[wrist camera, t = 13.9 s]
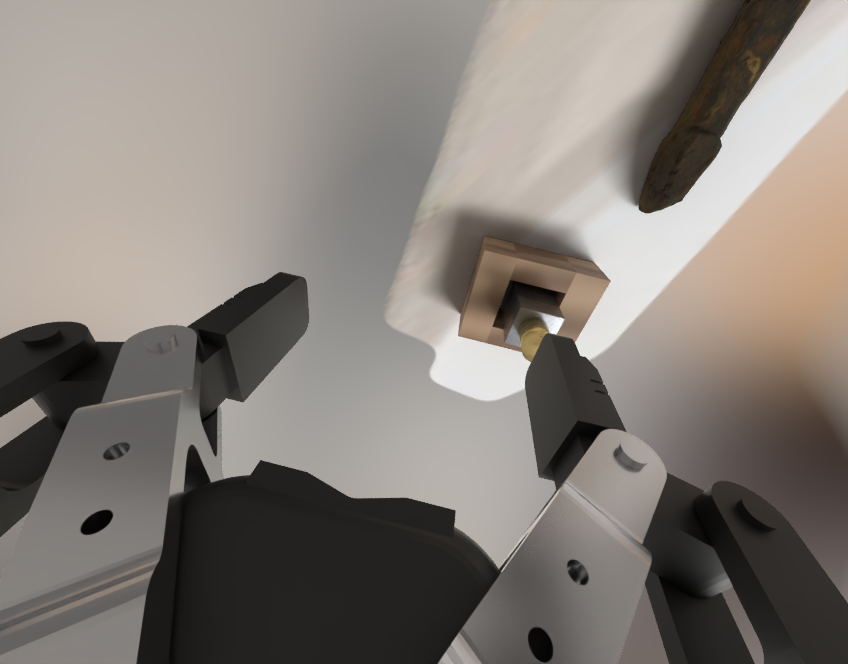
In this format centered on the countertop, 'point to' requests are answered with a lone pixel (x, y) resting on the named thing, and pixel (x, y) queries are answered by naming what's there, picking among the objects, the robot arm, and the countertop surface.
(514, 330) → the bit
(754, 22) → the dark brown rod
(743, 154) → the countertop surface
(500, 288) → the housing
